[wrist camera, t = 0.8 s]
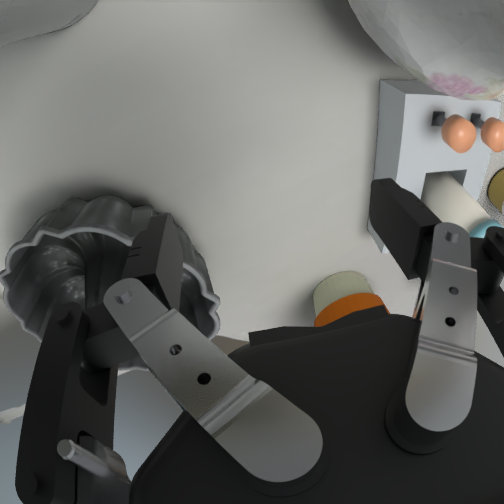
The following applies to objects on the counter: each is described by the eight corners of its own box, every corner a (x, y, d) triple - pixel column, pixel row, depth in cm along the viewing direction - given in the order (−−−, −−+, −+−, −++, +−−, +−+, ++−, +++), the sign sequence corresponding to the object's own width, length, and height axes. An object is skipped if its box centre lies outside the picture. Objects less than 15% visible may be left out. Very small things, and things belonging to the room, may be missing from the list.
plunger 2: (468, 106, 23) (494, 123, 20) (487, 108, 23) (512, 124, 20) (464, 133, 25) (487, 152, 22) (482, 134, 25) (506, 152, 22)
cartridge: (410, 157, 32) (479, 235, 22) (445, 155, 32) (515, 226, 22) (403, 196, 36) (460, 276, 26) (437, 192, 36) (495, 265, 26)
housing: (379, 79, 26) (405, 93, 22) (474, 86, 26) (501, 102, 22) (367, 228, 40) (381, 254, 36) (447, 214, 40) (464, 236, 36)
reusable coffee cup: (310, 264, 43) (341, 360, 33) (386, 260, 45) (426, 342, 34) (295, 316, 52) (315, 398, 41) (361, 309, 54) (388, 383, 43)
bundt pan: (240, 186, 33) (251, 249, 26) (199, 323, 50) (202, 378, 43) (15, 160, 26) (-29, 214, 19) (47, 304, 43) (33, 356, 36)
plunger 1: (428, 104, 23) (454, 121, 20) (453, 105, 23) (478, 122, 20) (425, 134, 25) (448, 153, 22) (448, 133, 25) (472, 152, 22)
